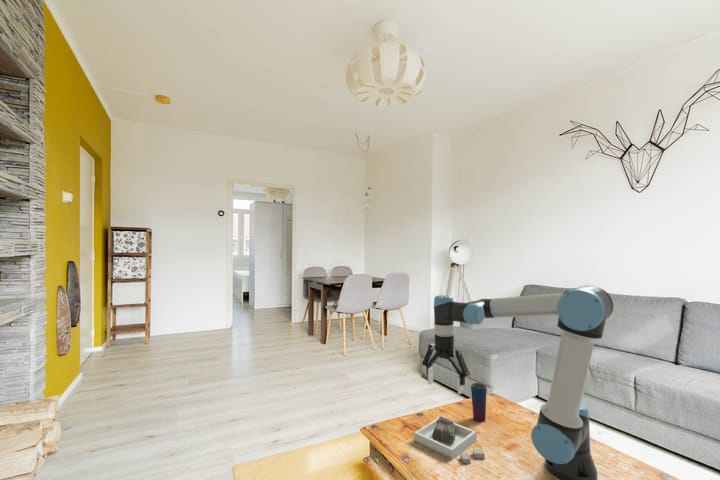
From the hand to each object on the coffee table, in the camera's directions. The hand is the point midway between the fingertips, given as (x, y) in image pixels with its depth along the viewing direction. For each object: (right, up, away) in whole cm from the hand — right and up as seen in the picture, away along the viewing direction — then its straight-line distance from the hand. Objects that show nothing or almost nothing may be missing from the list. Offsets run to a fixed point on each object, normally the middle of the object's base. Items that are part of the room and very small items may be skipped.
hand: (445, 388), depth 136 cm
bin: (0, -21, -1) cm, 21 cm away
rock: (0, -20, 0) cm, 20 cm away
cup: (+19, -21, +17) cm, 33 cm away
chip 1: (+4, -20, -14) cm, 25 cm away
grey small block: (+10, -20, -11) cm, 25 cm away
